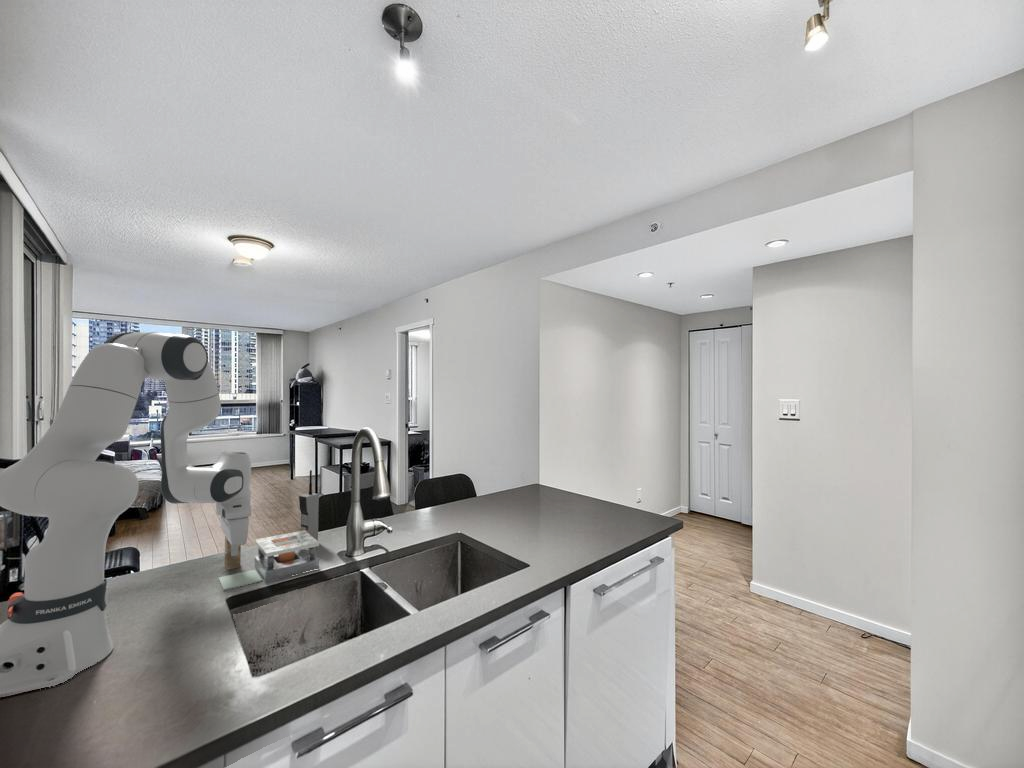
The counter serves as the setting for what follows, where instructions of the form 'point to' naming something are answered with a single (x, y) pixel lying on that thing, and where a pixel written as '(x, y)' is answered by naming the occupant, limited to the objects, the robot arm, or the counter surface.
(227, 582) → the sage mat
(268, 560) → the grey box with top
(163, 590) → the counter surface
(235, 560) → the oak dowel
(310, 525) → the vintage mobile phone
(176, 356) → the robot arm
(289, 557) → the breaker button
